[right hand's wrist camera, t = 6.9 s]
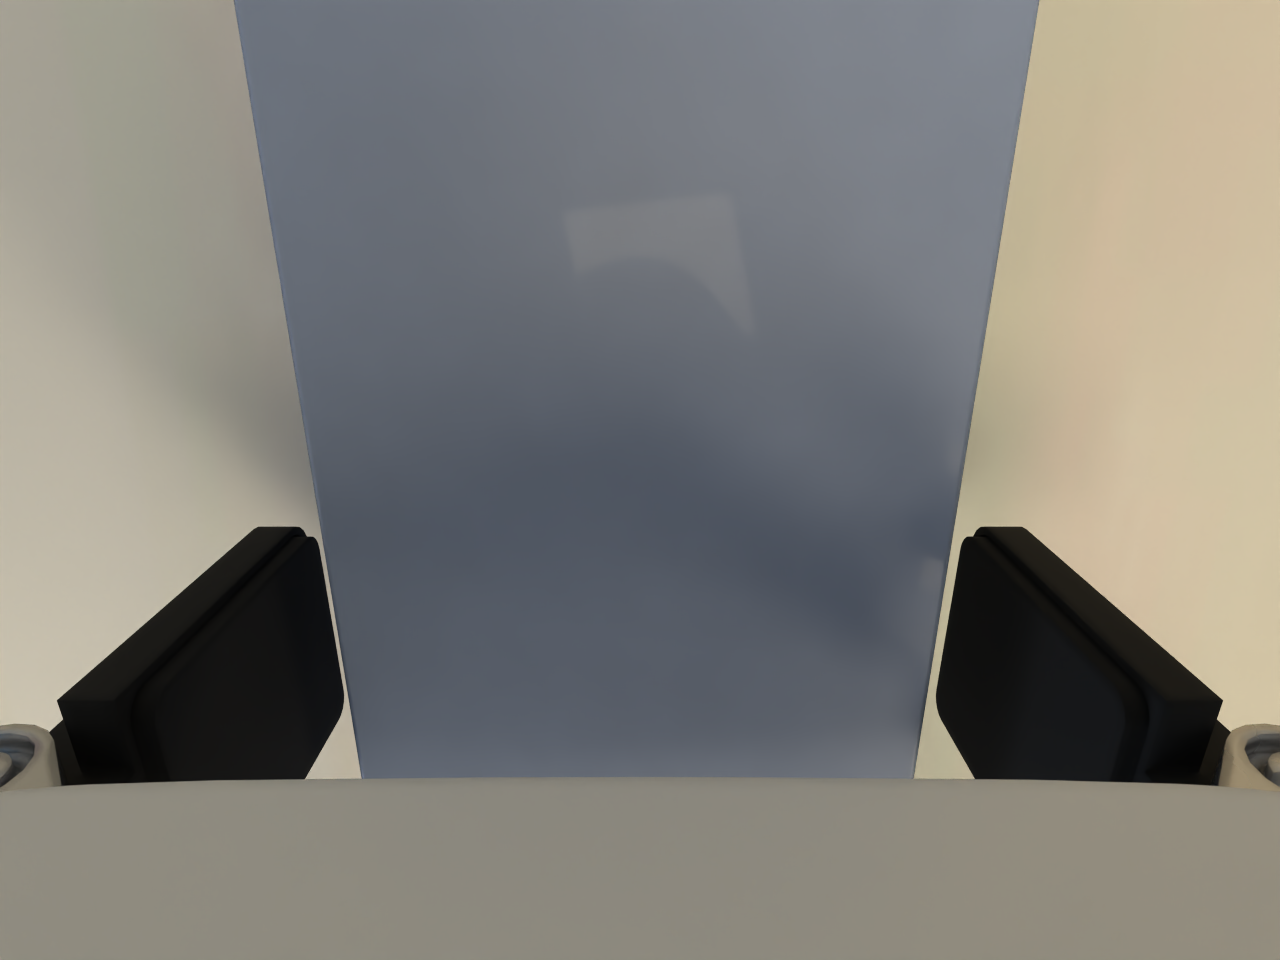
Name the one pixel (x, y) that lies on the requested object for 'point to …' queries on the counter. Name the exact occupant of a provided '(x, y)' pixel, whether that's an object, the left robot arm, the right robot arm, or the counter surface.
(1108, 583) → the counter surface
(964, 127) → the blue-grey slab
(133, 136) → the counter surface
